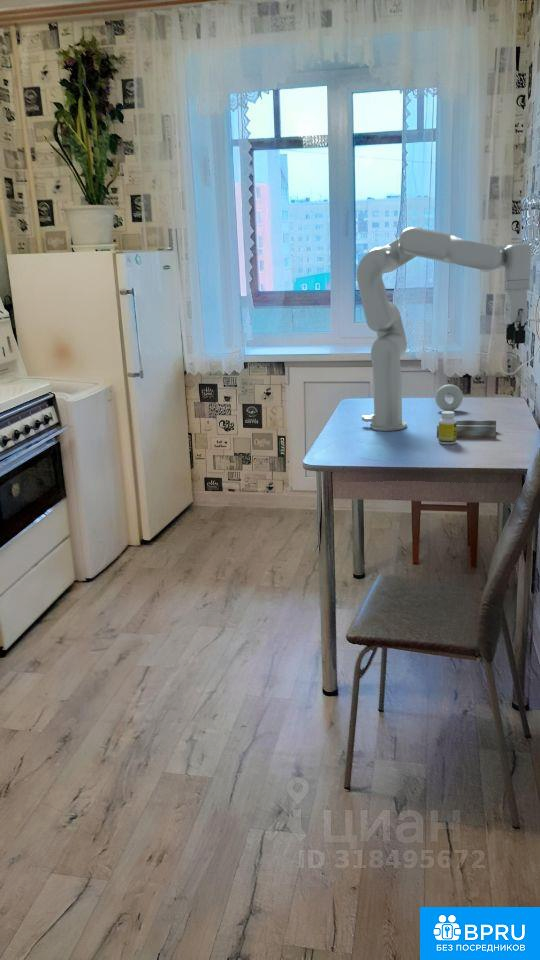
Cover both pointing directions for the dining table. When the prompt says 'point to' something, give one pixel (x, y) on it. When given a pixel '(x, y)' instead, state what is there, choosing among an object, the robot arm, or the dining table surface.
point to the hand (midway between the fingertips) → (515, 341)
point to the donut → (455, 402)
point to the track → (474, 429)
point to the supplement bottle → (447, 428)
